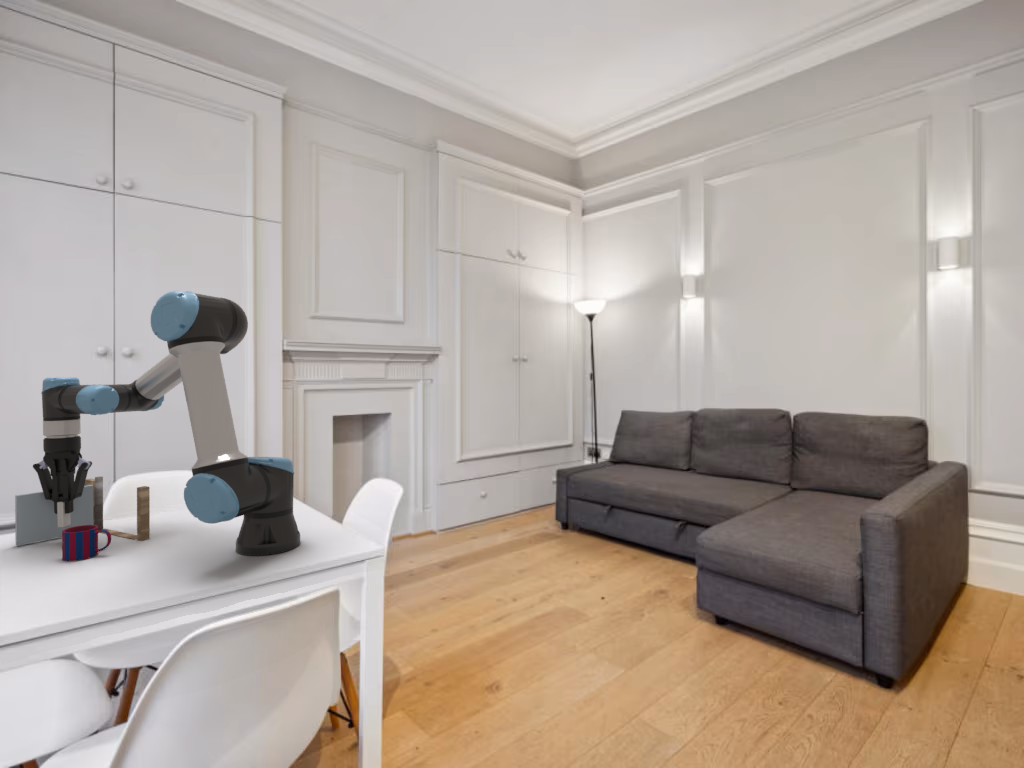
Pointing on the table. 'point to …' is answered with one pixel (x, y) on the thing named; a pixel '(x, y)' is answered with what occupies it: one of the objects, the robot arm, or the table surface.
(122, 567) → the table surface
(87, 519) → the door
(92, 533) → the mug
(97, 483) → the doorframe
